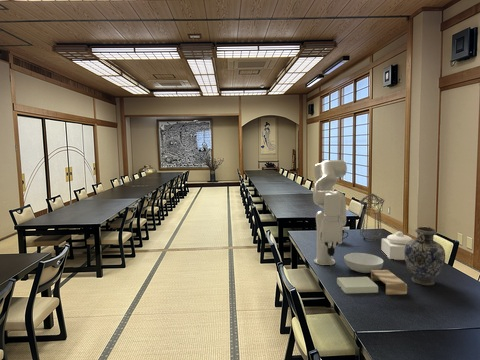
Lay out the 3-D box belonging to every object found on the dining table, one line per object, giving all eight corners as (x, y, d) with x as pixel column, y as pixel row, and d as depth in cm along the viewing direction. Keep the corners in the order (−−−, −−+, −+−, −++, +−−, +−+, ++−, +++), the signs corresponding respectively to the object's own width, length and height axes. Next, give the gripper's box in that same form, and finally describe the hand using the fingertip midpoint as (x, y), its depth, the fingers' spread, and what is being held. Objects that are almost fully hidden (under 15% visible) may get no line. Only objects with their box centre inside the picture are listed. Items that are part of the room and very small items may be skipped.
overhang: (370, 280, 179) (371, 270, 179) (388, 279, 180) (389, 269, 179) (386, 294, 162) (387, 283, 162) (406, 294, 163) (407, 283, 162)
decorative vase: (408, 270, 192) (411, 222, 188) (446, 279, 180) (450, 227, 176) (397, 283, 175) (400, 230, 172) (438, 293, 163) (443, 236, 160)
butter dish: (408, 251, 226) (409, 228, 225) (419, 260, 208) (421, 235, 207) (381, 251, 228) (382, 227, 226) (390, 260, 210) (391, 234, 209)
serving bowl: (386, 278, 182) (387, 266, 181) (345, 275, 186) (346, 263, 185) (379, 265, 202) (379, 253, 201) (342, 262, 206) (342, 251, 205)
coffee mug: (329, 240, 252) (329, 227, 251) (339, 239, 254) (339, 226, 253) (338, 245, 241) (338, 231, 240) (348, 244, 243) (349, 230, 242)
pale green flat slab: (336, 283, 176) (337, 277, 175) (367, 282, 177) (367, 276, 176) (345, 293, 164) (345, 287, 164) (377, 292, 165) (378, 286, 164)
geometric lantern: (383, 238, 256) (385, 192, 252) (379, 244, 243) (381, 196, 238) (361, 235, 265) (363, 191, 260) (356, 241, 251) (358, 194, 247)
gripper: (344, 216, 170) (343, 252, 172) (314, 217, 169) (313, 253, 171) (349, 219, 162) (348, 257, 164) (318, 220, 162) (318, 258, 163)
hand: (330, 255), depth 168 cm, fingers closed
